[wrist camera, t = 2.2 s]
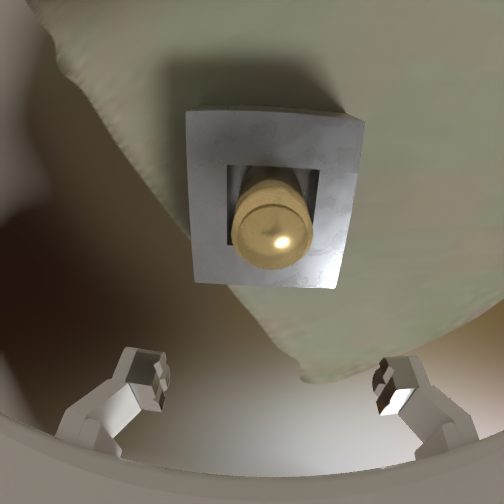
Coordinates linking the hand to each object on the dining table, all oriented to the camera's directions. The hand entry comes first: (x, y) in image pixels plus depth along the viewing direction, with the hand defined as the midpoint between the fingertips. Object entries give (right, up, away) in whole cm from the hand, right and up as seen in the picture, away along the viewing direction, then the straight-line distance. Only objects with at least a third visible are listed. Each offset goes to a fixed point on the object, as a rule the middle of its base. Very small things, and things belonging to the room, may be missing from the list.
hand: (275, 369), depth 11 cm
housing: (+1, +10, +16) cm, 19 cm away
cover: (+1, +9, +15) cm, 18 cm away
